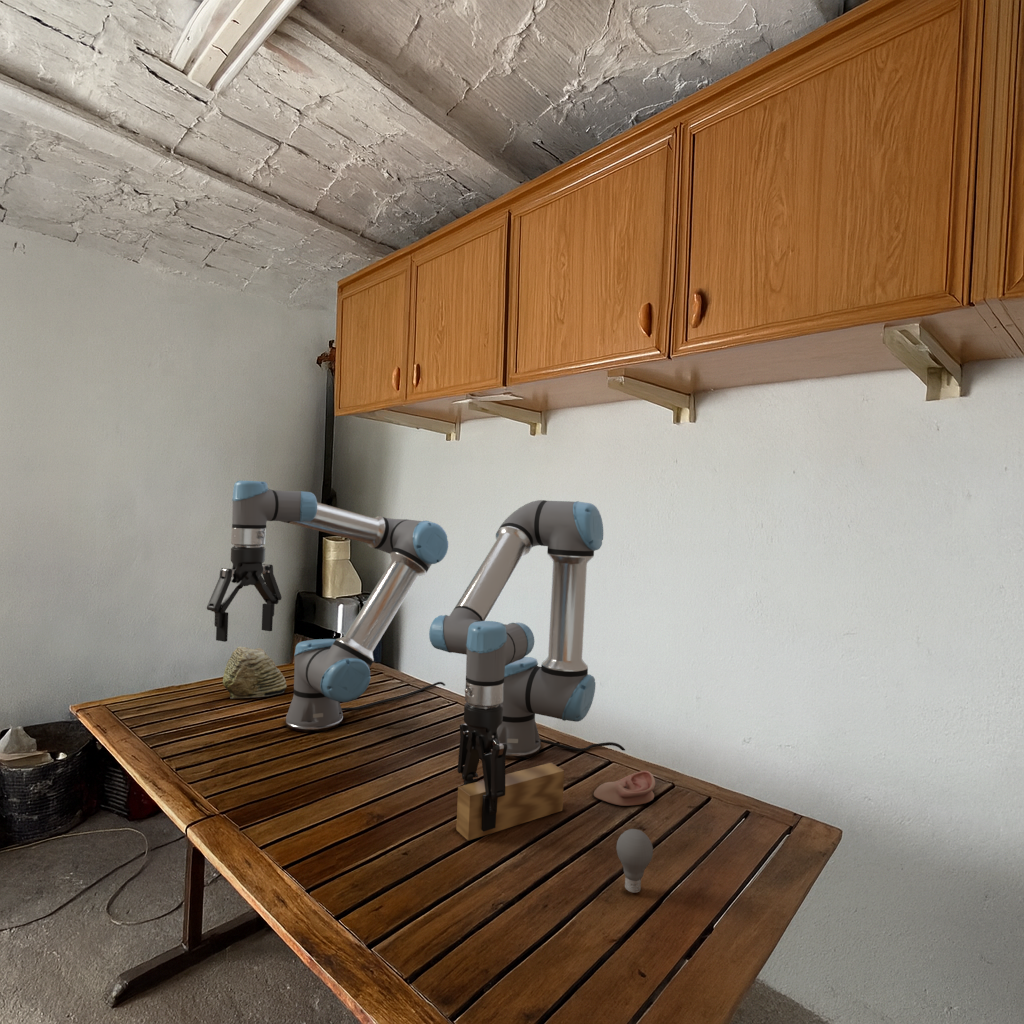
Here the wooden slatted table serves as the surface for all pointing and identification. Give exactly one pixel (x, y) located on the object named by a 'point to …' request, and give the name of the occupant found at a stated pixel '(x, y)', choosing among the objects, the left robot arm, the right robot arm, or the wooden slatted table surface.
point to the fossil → (252, 674)
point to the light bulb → (634, 857)
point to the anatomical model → (628, 790)
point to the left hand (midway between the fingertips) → (245, 635)
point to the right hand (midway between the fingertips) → (478, 820)
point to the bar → (512, 800)
